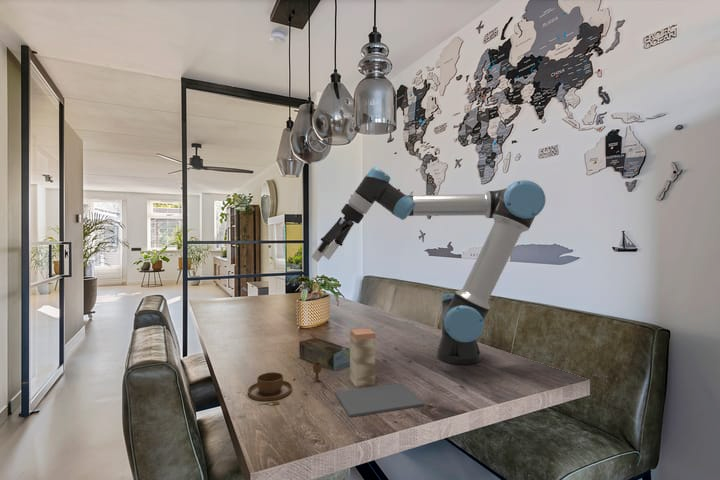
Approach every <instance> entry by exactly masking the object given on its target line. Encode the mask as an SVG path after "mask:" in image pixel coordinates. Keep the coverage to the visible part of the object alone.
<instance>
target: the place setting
mask: <svg viewBox="0 0 720 480" xmlns="http://www.w3.org/2000/svg"><path fill="white" fill-rule="evenodd" d="M312 369H313V370H312V371H313V372H314V373H315V383H319V379H320V376H319V375H320V374H319V373H321V372H322V366H321V363H320V362H315V363H313V362H312ZM256 380H257V382H255V383H253V384H251V385H250V386H249V387H248V390H247V394H248V396H249V397H250V398H251V399H252V400H255V401H261V402H264V403H258V406H261V405H262V406H263V405H264V406H278V405H279V404H280V401H277V400H280V399H283V398H286V397H287V396H288V395H289V394H291V392H292V390H293V386H292V385H293V384H291V383H290V382H289V381H287V380H284V375H283V374H282V373H279V372H271V371H270V372H266V373H262V374H260V375H258V376H257V379H256ZM293 381H296V378H293V379H292V382H293ZM283 386H284V387H285V388H287V389H288V390H287V391H285V392H283V393H281V394H278V395H275V394H277V393H278V392H279V391H280V390H281V389H282V388H283ZM255 389H258V391H260V392H261V393H262V394H264V395H266V396H260V395H259V396H258V395H255V394H253V393H252V392H253V391H254V390H255ZM270 395H272V396H270ZM269 401H270V402H269ZM265 402H266V403H265Z"/></svg>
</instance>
